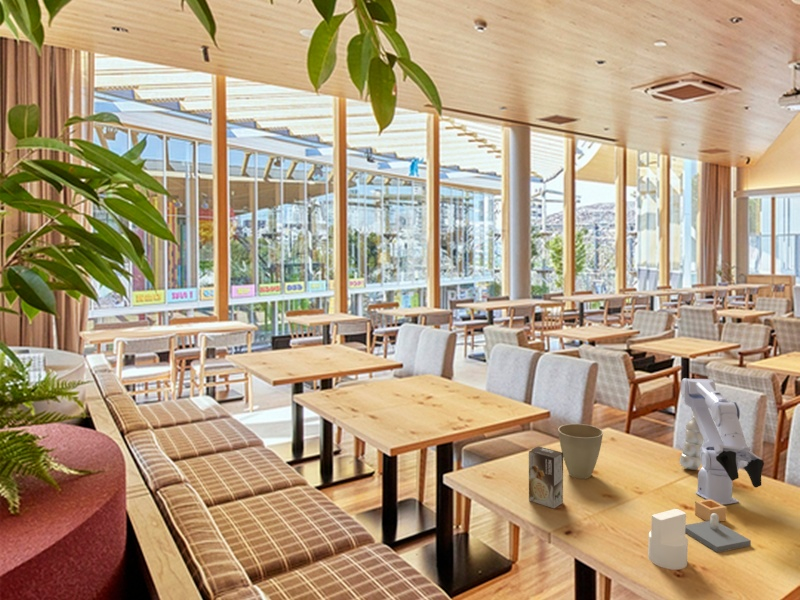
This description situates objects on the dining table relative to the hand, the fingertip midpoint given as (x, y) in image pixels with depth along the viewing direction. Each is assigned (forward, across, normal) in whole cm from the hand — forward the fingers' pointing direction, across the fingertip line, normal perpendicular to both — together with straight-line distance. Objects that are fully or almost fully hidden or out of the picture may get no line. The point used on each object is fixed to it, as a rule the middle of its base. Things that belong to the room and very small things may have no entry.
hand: (746, 482), depth 159 cm
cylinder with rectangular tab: (+24, -24, +9) cm, 35 cm away
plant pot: (-16, -21, +47) cm, 54 cm away
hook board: (+14, -6, +10) cm, 18 cm away
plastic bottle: (-23, +16, +35) cm, 45 cm away
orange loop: (+4, 0, +16) cm, 16 cm away
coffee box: (+2, -40, +39) cm, 56 cm away
